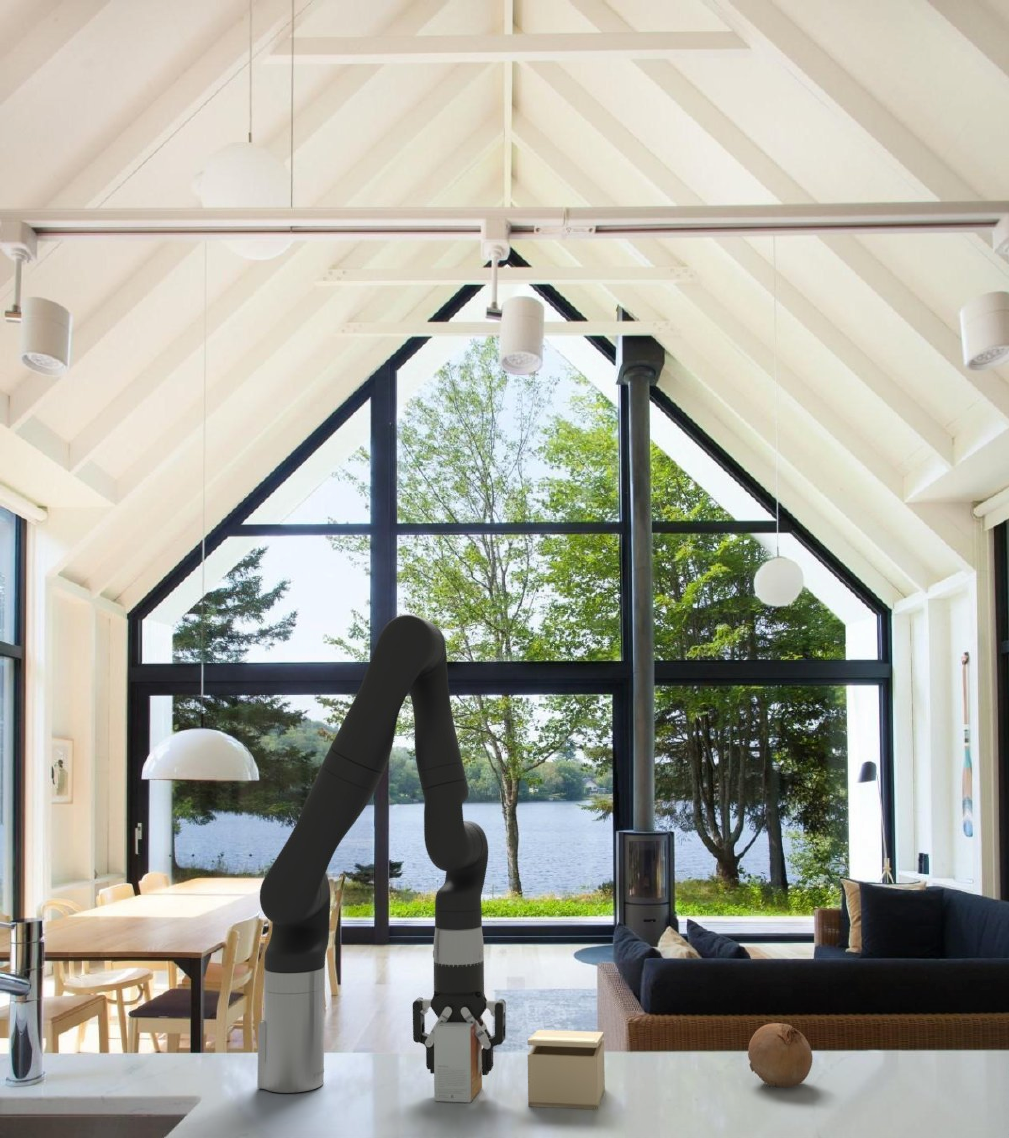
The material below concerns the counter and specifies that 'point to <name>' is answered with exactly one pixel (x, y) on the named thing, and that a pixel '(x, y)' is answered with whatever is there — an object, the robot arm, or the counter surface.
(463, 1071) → the small box
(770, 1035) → the onion
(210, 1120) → the counter surface
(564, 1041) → the lid
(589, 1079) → the carton
